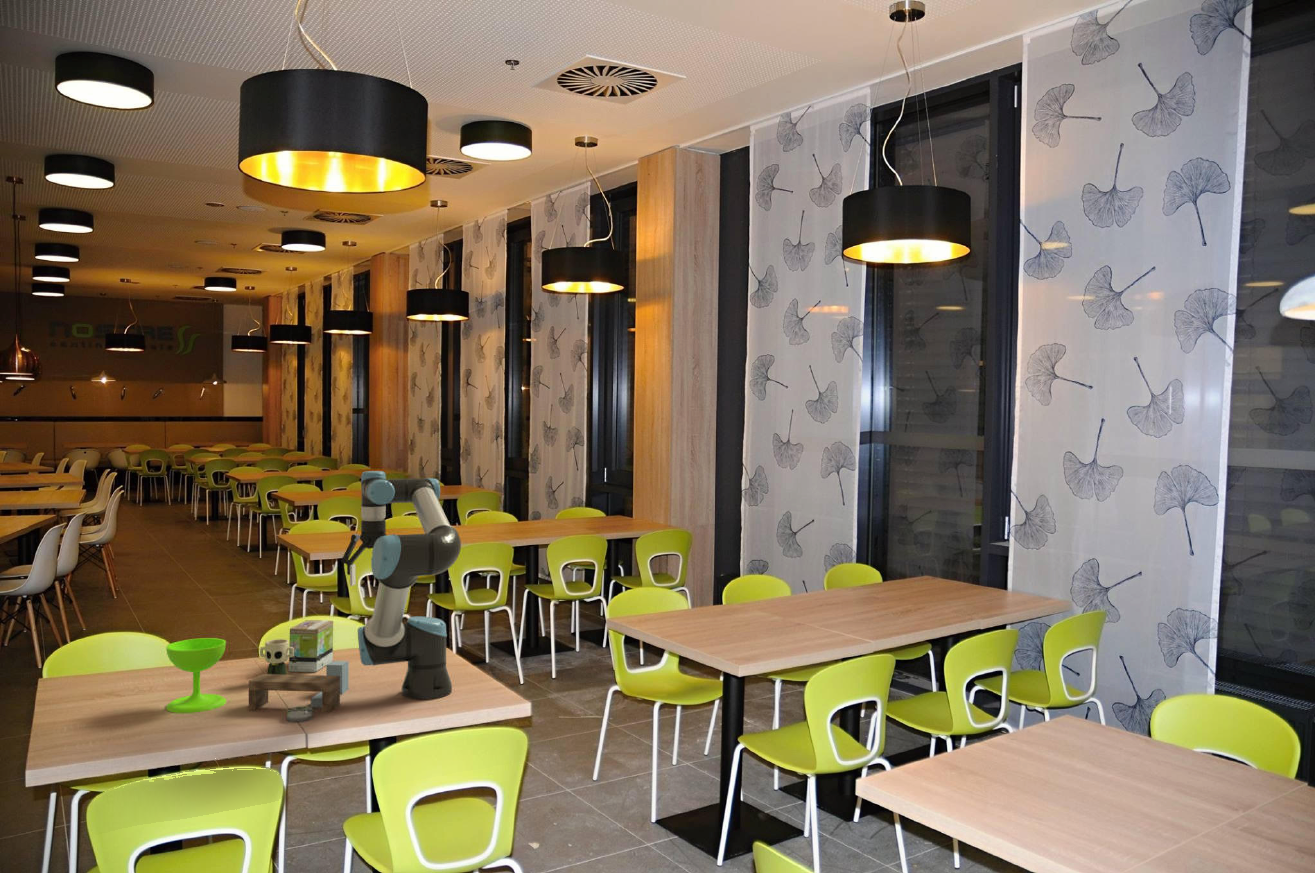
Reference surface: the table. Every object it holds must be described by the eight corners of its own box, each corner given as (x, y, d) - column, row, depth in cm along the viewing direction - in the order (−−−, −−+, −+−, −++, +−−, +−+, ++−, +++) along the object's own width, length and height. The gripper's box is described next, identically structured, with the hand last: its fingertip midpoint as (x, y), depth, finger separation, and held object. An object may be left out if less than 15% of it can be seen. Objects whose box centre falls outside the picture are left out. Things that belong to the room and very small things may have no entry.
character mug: (255, 684, 302) (255, 644, 302) (264, 678, 309) (264, 638, 309) (289, 684, 302) (289, 644, 302) (297, 678, 309) (297, 638, 309)
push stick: (333, 689, 297) (333, 660, 297) (348, 689, 297) (348, 661, 297) (307, 706, 279) (307, 676, 279) (324, 707, 279) (324, 676, 278)
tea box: (317, 672, 317) (317, 628, 316) (287, 672, 317) (287, 628, 317) (333, 661, 332) (333, 619, 332) (305, 660, 332) (305, 618, 332)
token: (316, 714, 272) (316, 706, 272) (308, 722, 265) (308, 713, 265) (291, 714, 272) (291, 706, 272) (283, 722, 265) (283, 713, 265)
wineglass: (157, 705, 280) (157, 644, 280) (212, 693, 292) (212, 635, 291) (179, 716, 269) (179, 653, 269) (235, 704, 281) (235, 644, 281)
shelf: (339, 704, 282) (339, 675, 281) (328, 712, 274) (328, 683, 273) (261, 702, 283) (261, 673, 283) (248, 710, 275) (248, 681, 275)
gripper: (415, 518, 305) (415, 584, 306) (340, 517, 307) (340, 582, 307) (407, 521, 298) (407, 588, 298) (330, 520, 299) (330, 586, 300)
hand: (373, 585), depth 303 cm, fingers open, 13 cm apart
